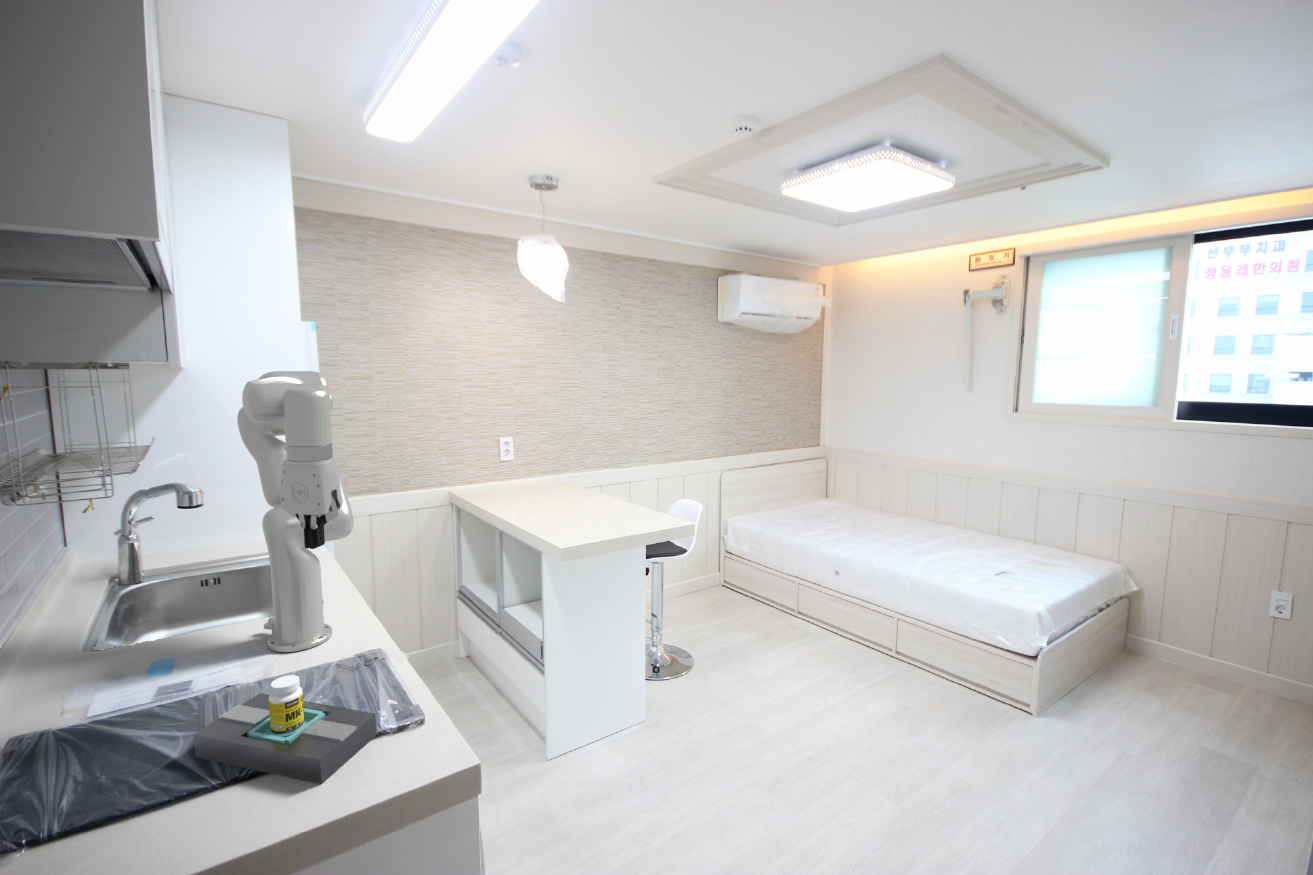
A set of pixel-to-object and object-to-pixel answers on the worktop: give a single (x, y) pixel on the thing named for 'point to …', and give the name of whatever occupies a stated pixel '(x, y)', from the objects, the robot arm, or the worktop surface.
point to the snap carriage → (265, 734)
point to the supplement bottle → (286, 706)
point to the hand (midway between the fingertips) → (314, 546)
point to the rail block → (300, 759)
